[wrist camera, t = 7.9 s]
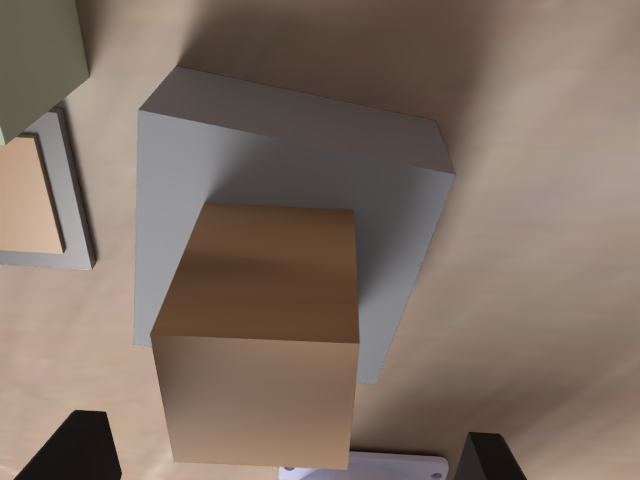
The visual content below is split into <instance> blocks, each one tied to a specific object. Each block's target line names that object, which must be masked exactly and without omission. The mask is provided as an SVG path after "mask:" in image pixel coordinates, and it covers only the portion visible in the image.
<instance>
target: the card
mask: <svg viewBox="0 0 640 480" xmlns="http://www.w3.org/2000/svg"><path fill="white" fill-rule="evenodd" d="M0 264H1V265H17V266H33V267H50V268H66V269H82V270H92V269H93V267H94V266H95V264H96V262H95V258H94V253H93V248H92V244H91V239H90V234H89V230H88V225H87V220H86V216H85V211H84V207H83V202H82V197H81V193H80V188H79V183H78V179H77V174H76V170H75V165H74V160H73V156H72V151H71V146H70V142H69V137H68V132H67V128H66V123H65V119H64V114H63V109H62V108H51V109H50V110H49V111H47V112H46V113H45V114H44V115H43V116H41V117H40V118H39V119H38V120H36V121H35V122H34V123H33V124H31V125H30V126H29V127H28V128H26V129H25V130H24V131H23V132H22V133H20V134H19V135H18V136H17V137H15V138H14V139H13V140H12V141H10V142H9V143H8V144H7V145H0Z"/></svg>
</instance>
